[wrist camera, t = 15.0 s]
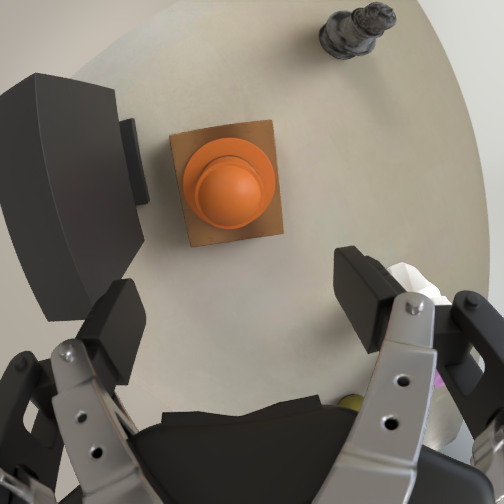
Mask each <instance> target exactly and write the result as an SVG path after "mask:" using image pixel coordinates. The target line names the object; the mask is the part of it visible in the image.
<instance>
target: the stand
mask: <svg viewBox="0 0 504 504" xmlns="http://www.w3.org/2000/svg"><path fill="white" fill-rule="evenodd" d="M169 137H170V144H171V149H172V155H173V161H174V167H175V172H176V177H177V183H178V188H179V193H180V198H181V203H182V208H183V213H184V217H185V222H186V227H187V231H188V236H189V240H190V245H191V247H197V246H204V245H210V244H217V243H223V242H230V241H237V240H244V239H250V238H257V237H264V236H271V235H278V234H284V230H283V218H282V207H281V196H280V186H279V176H278V166H277V157H276V147H275V138H274V130H273V121H272V120H262V121H253V122H245V123H237V124H229V125H223V126H216V127H210V128H204V129H198V130H193V131H188V132H182V133H178V134H173V135H169ZM221 138H237V139H242V140H245V141H248V142H250V143H252V144H253V145H255V146H257V147H258V148H259V149H260V150H262V151H263V153H264V154H265V155H266V156H267V158H268V159H269V161H270V163H271V165H272V167H273V170H274V174H275V190H274V195H273V198H272V200H271V202H270V204H269V206H268V207H267V209H266V210H265V211H264V212H263V213H262V214H261V215H260V216H259V217H258V218H256V219H255V220H253V221H252V222H250V223H249V224H247V225H245V226H243V227H240V228H236V229H222V228H218V227H215V226H213V225H211V224H209V223H207V222H206V221H204V220H202V219H201V218H199V217H198V216H197V215H196V214H195V213H194V212H193V211H192V209H191V208H190V206H189V205H188V203H187V201H186V198H185V195H184V191H183V176H184V171H185V168H186V166H187V163H188V162H189V160H190V158H191V157H192V156H193V155H194V153H195V152H196V151H197V150H198V149H200V148H201V147H202V146H204V145H205V144H207V143H209V142H211V141H214V140H217V139H221Z"/></svg>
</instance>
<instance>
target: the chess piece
mask: <svg viewBox="0 0 504 504" xmlns="http://www.w3.org/2000/svg"><path fill="white" fill-rule="evenodd" d="M395 23H396V15H395V13H394V11H393V9H392V8H390V7H389V6H387V5H386V4H384V3H381V2H373V3H371V4H369V5H368V6H366V7H365V8H357V9H355V10H354V11H353V12H351V11H338V12H335V13H333V14H332V15H331V16H330V17H329V19H328V20H327V23H326V24H325V25H324V26H323V27H322V28H321V30H320V33H319V39H320V42H321V45H322V46H323V48H324V49H325V50H326V51H327V52H328V53H329V54H331V55H332V56H334V57H337V58H339V59H350V58H352V57H355V56H362V55H366V54H368V53H370V52H371V51H372V50H373V48H374V47H375V43H376V38H378V37H380V36H382V35H383V33H384V31H385V30H387V29H389V28H391V27H393V26H394V25H395Z"/></svg>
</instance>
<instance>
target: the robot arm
mask: <svg viewBox="0 0 504 504" xmlns="http://www.w3.org/2000/svg"><path fill="white" fill-rule="evenodd" d="M333 287H334V292H335V296H336V298H337V300H338V301H339V303H340V305H341V307H342V308H343V310H344V312H345V314H346V315H347V317H348V319H349V321H350V322H351V324H352V326H353V328H354V329H355V331H356V333H357V335H358V337H359V338H360V340H361V342H362V344H363V346H364V348H365V349H366V351H367V353H368V354H370V353H373V352H377V351H379V352H380V353H379V356H378V359H377V362H376V365H375V368H374V371H373V374H372V377H371V380H370V383H369V386H368V388H367V391H366V394H365V396H364V399H363V402H362V404H361V407H360V409H359V412H358V411H356V410H353V409H350V408H346V407H341V406H335V405H321V402H320V399H319V396H318V395H314V396H309V397H305V398H300V399H295V400H289V401H284V402H279V403H276V404H274V405H271V406H268V407H266V408H263V409H260V410H257V411H255V412H252V413H249V414H246V415H243V416H228V415H220V414H213V413H206V412H200V411H194V412H163V413H162V420H161V423H159V424H156V425H153V426H150V427H148V428H146V429H143V430H142V431H140V432H139V430H138V429H137V427H136V426H135V424H134V423H133V421H132V420H131V418H130V416H129V414H128V413H127V411H126V409H125V407H124V406H123V404H122V402H121V400H120V398H119V397H118V395H117V393H116V392H115V391H114V390H115V387H116V385H128V383H129V379H130V375H131V372H132V368H133V365H134V361H135V358H136V354H137V351H138V348H139V345H140V341H141V338H142V335H143V332H144V329H145V325H146V313H145V310H144V307H143V304H142V302H141V299H140V297H139V294H138V291H137V289H136V286H135V283H134V281H133V280H132V279H131V278H128V279H121V280H114V281H113V282H112V284H111V285H110V287H109V288H108V290H107V292H106V293H105V294H103V295H102V296H101V297H100V298H99V299H98V300H97V301H96V302H95V304H94V306H93V307H92V309H91V311H90V312H89V314H88V316H87V318H86V319H85V321H84V323H83V325H82V327H81V328H80V331H79V332H78V334H77V336H76V337H75V339H68V340H66V341H64V342H62V343H60V344H59V345H58V346H57V347H56V348H55V349H54V350H53V352H52V354H51V358H50V359H46V360H42V361H38V360H37V359H36V357H35V356H34V354H33V353H32V352H30V351H24V352H21V353H19V354H17V355H16V356H15V357H14V358H13V359H12V360H11V361H10V363H9V365H8V367H7V369H6V371H5V372H4V374H3V376H2V378H1V380H0V504H497V503H498V502H499V501H501V500H502V499H503V498H504V318H503V317H502V316H501V315H500V314H499V313H498V312H497V310H496V309H495V308H493V306H492V305H491V304H490V303H489V302H488V301H487V300H486V299H485V298H484V297H483V296H481V295H480V294H478V293H476V292H473V291H467V290H465V291H460V292H458V293H457V294H456V295H455V297H454V300H453V303H452V305H434V303H433V302H432V300H431V299H430V298H428V297H427V296H425V295H423V294H421V293H417V292H407V291H406V290H405V289H404V288H403V287H402V285H401V284H400V283H399V282H398V281H397V280H396V279H395V278H394V277H393V276H392V275H390V273H389V272H388V271H387V270H386V269H385V267H384V266H383V265H382V264H381V263H380V262H379V261H377V260H375V259H373V258H371V257H369V256H364V255H363V254H362V253H361V252H360V251H359V250H358V249H357V248H356V247H355V246H348V247H341V248H336V249H335V251H334V276H333ZM473 346H474V347H475V349H476V350H477V351H478V353H479V354H480V355H481V357H482V358H483V360H484V363H485V371H484V373H483V372H482V370H481V369H480V367H479V366H478V364H477V363H476V361H475V360H474V358H473V357H472V356H471V354H470V351H471V349H472V347H473ZM436 370H437V371H438V373H439V375H440V376H441V378H442V380H443V382H444V383H445V385H446V387H447V389H448V391H449V392H450V394H451V396H452V398H453V400H454V401H455V403H456V405H457V407H458V409H459V411H460V413H461V415H462V417H463V419H464V421H465V423H466V425H467V427H468V428H469V431H470V433H471V435H472V437H473V439H474V444H473V447H472V456H471V459H470V463H471V466H470V465H468V464H465V463H463V462H460V461H458V460H456V459H453V458H451V457H449V456H446V455H444V454H442V453H440V452H437V451H435V450H433V449H431V448H429V447H427V446H425V445H422V442H423V438H424V434H425V430H426V425H427V421H428V416H429V411H430V405H431V400H432V393H433V387H434V379H435V371H436ZM29 400H31V402H32V403H33V404H34V405H35V406H36V407H37V408H38V409H39V410H38V413H37V416H36V419H35V422H34V425H33V428H32V431H31V433H29V432H28V431H27V430H26V428H25V426H24V424H23V416H24V413H25V411H26V408H27V405H28V403H29ZM64 445H65V447H66V451H67V453H68V456H69V458H70V461H71V464H72V467H73V469H74V472H75V473H76V476H77V479H78V481H79V483H80V485H78V486H77V487H76V488H75V489H74V490H73V491H72V492H71V493H69V494H68V495H67V496H66V497H65V498H63V499H62V500H61V501H60V502H59V503H58V502H56V498H55V488H56V482H57V476H58V471H59V465H60V461H61V456H62V451H63V447H64Z"/></svg>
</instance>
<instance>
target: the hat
mask: <svg viewBox="0 0 504 504" xmlns="http://www.w3.org/2000/svg"><path fill="white" fill-rule="evenodd" d="M274 190H275V174H274V170H273V167H272V165H271V163H270V161H269V159H268V158H267V156H266V155H265V154H264V153H263V151H262V150H260V149H259V148H258V147H257V146H255V145H253V144H252V143H250V142H248V141H245V140H242V139H237V138H221V139H217V140H214V141H211V142H209V143H207V144H205V145H204V146H202V147H201V148H200V149H198V150H197V151H196V152H195V153H194V155H193V156H192V157H191V158H190V160H189V162H188V163H187V166H186V168H185V171H184V176H183V191H184V195H185V198H186V201H187V203H188V205H189V206H190V208H191V209H192V211H193V212H194V213H195V214H196V215H197V216H198V217H199V218H201V219H202V220H204V221H206V222H207V223H209V224H211V225H213V226H215V227H218V228H222V229H236V228H240V227H243V226H245V225H247V224H249V223H250V222H252V221H253V220H255V219H256V218H258V217H259V216H260V215H261V214H262V213H263V212H264V211H265V210H266V209H267V207H268V206H269V204H270V202H271V200H272V198H273V195H274Z"/></svg>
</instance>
